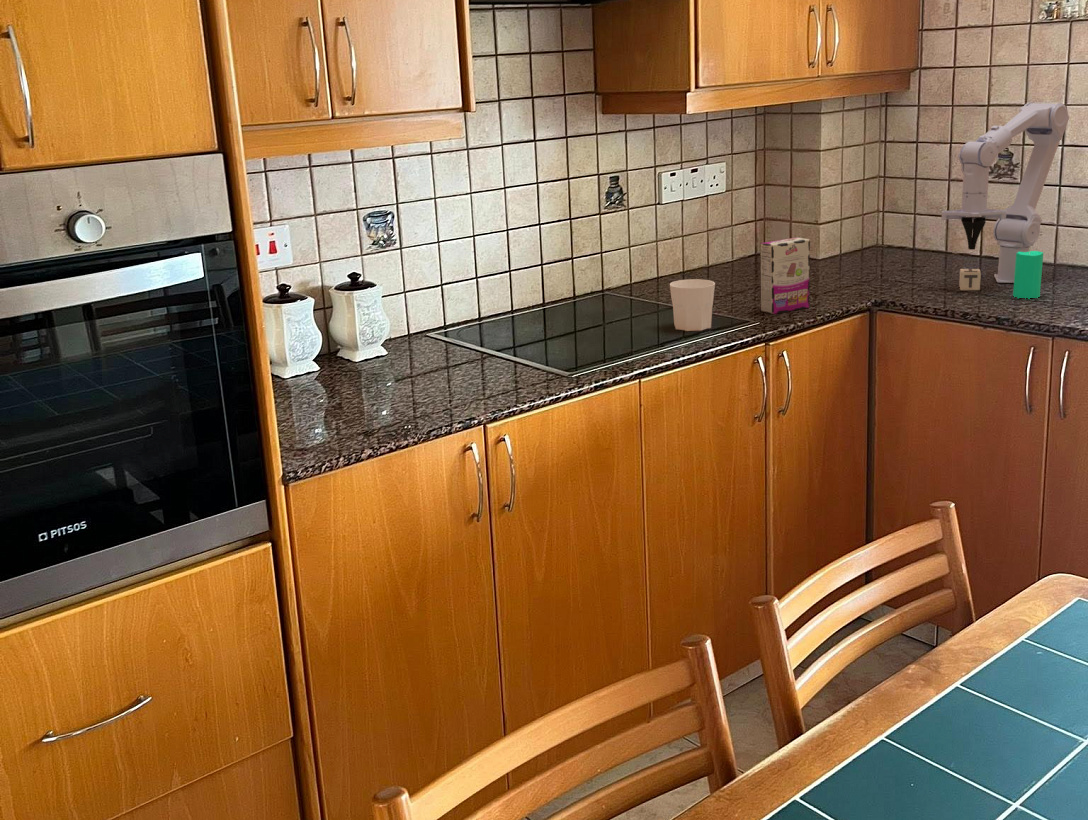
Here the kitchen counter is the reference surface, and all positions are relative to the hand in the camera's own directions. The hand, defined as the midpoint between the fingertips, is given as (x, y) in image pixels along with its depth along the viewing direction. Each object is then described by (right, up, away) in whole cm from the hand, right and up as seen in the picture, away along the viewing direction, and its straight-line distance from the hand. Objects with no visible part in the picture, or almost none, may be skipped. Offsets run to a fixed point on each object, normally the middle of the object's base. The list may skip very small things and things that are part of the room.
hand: (971, 248), depth 283 cm
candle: (+11, -12, -7) cm, 18 cm away
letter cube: (+1, -9, +5) cm, 11 cm away
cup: (-71, -21, -20) cm, 76 cm away
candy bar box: (-47, -16, -8) cm, 50 cm away
